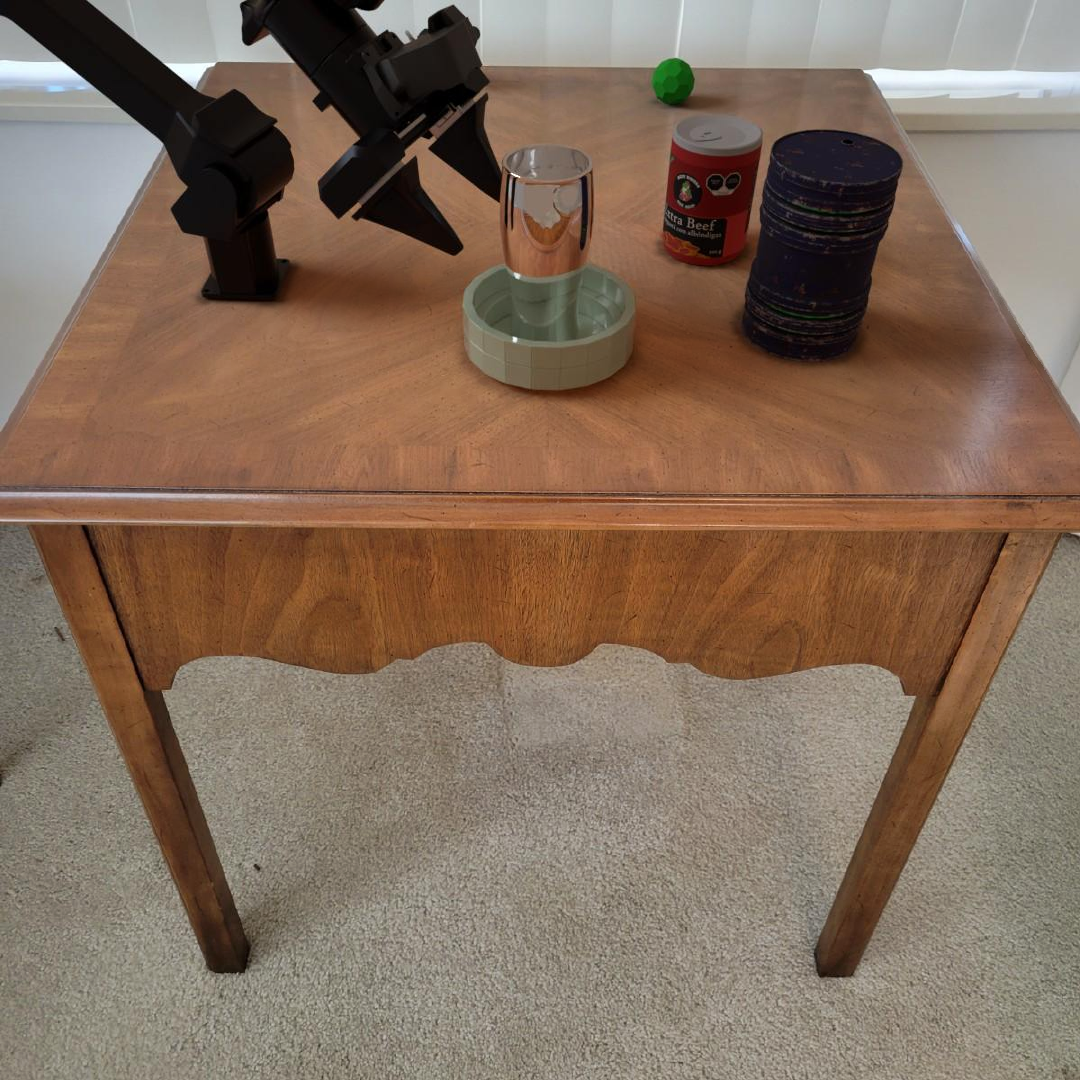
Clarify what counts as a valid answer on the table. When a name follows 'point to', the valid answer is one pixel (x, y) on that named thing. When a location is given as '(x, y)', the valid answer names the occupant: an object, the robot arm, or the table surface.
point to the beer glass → (546, 237)
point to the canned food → (710, 188)
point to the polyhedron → (673, 81)
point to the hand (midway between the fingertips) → (484, 225)
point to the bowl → (545, 362)
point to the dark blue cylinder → (818, 242)
